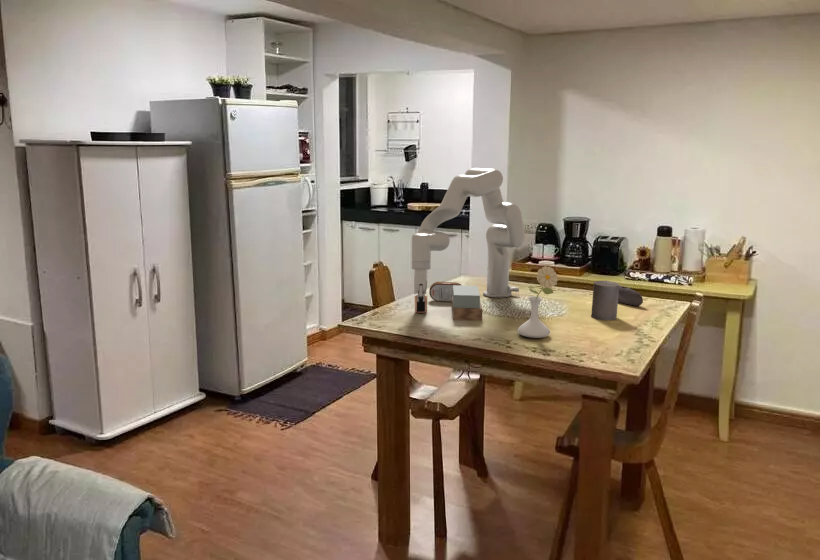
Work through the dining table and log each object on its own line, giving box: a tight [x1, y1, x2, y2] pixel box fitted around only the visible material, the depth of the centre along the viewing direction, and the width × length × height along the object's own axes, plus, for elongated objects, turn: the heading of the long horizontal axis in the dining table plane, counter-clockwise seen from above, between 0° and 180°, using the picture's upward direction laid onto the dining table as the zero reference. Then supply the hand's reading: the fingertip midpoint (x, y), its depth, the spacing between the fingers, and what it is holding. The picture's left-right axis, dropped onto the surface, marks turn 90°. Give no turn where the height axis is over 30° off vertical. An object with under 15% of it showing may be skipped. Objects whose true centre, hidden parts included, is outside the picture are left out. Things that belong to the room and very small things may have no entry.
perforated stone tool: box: [618, 285, 644, 307], centre depth 282 cm, size 15×5×7 cm, turn 29°
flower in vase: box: [516, 265, 559, 339], centre depth 231 cm, size 13×11×25 cm
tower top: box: [453, 284, 481, 308], centre depth 263 cm, size 10×18×5 cm, turn 177°
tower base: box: [451, 297, 483, 321], centre depth 263 cm, size 11×19×5 cm, turn 178°
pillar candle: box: [590, 279, 620, 321], centre depth 259 cm, size 10×10×15 cm
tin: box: [428, 281, 462, 303], centre depth 284 cm, size 15×3×8 cm, turn 84°
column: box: [414, 294, 428, 314], centre depth 265 cm, size 5×5×6 cm
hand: (420, 309), depth 265 cm, fingers closed on column, 5 cm apart
